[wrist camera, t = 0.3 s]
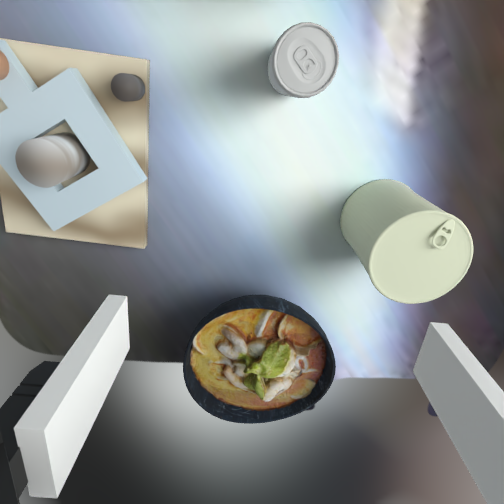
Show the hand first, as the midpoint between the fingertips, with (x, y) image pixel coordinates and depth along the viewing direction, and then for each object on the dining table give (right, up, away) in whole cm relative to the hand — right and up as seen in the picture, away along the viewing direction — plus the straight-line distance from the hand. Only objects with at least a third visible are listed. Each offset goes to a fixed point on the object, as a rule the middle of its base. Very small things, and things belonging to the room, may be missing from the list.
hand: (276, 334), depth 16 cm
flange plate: (-22, +16, +22) cm, 34 cm away
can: (+14, +8, +27) cm, 31 cm away
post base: (-20, +15, +24) cm, 35 cm away
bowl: (0, -6, +33) cm, 34 cm away
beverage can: (+3, +22, +21) cm, 30 cm away
